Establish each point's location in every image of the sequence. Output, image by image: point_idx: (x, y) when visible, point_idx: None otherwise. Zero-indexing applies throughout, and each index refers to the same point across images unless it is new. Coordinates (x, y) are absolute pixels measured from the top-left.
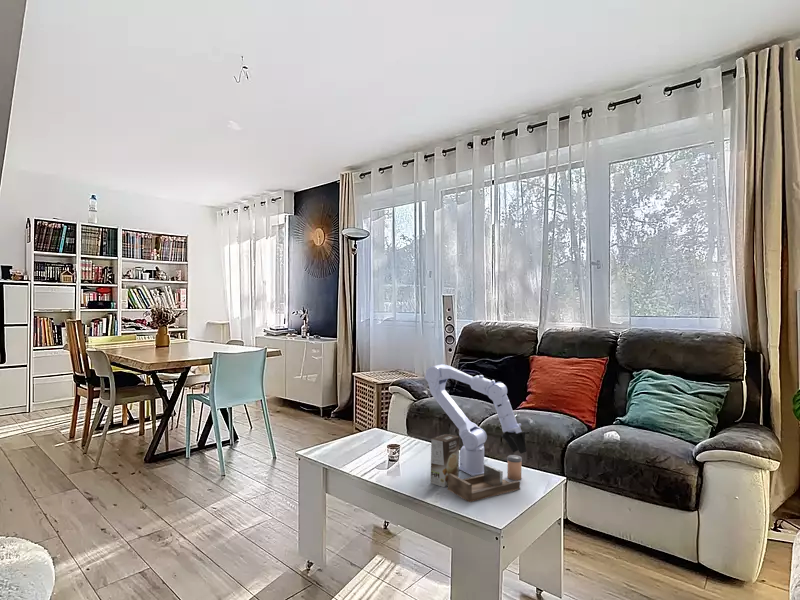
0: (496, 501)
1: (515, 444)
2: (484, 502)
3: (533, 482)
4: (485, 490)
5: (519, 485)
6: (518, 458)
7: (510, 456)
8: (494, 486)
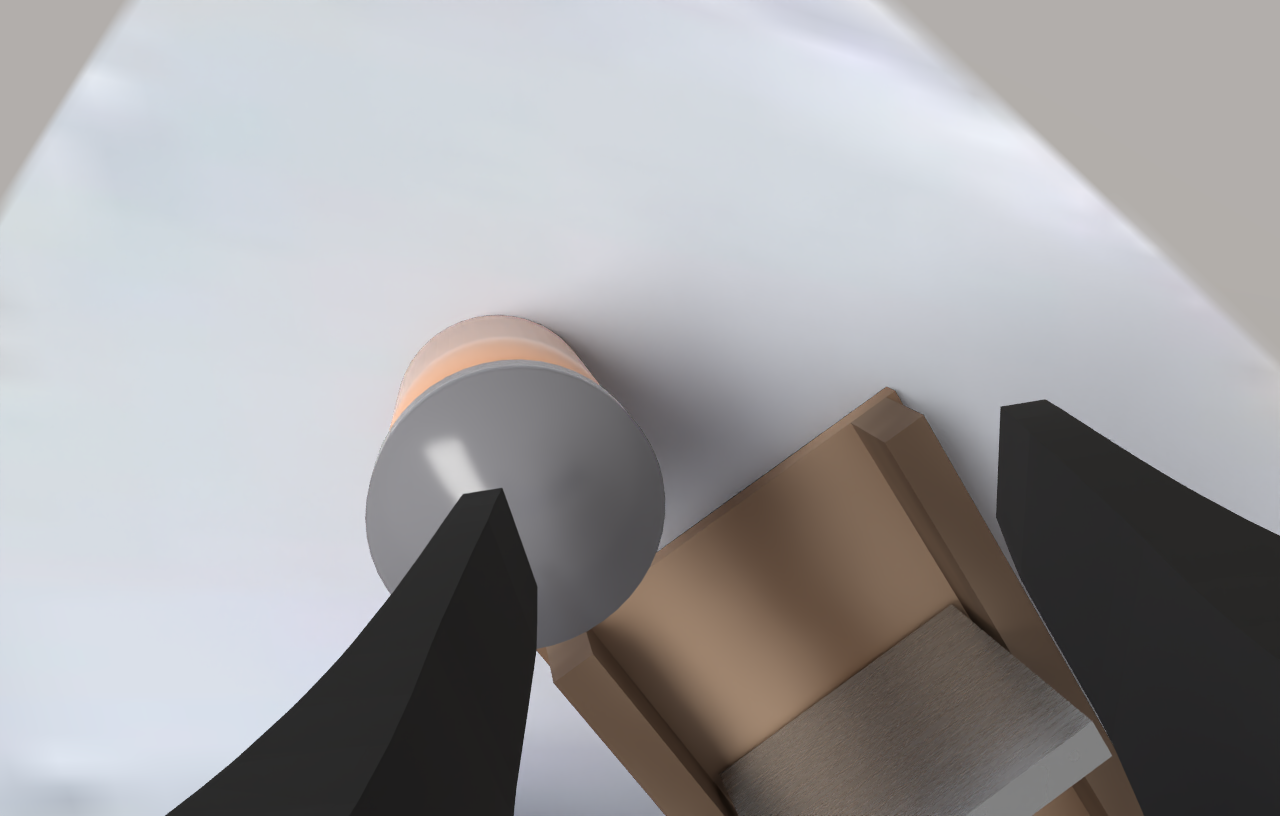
0: None
1: (481, 619)
2: None
3: (657, 166)
4: None
5: (901, 406)
6: (581, 445)
7: None
8: None
